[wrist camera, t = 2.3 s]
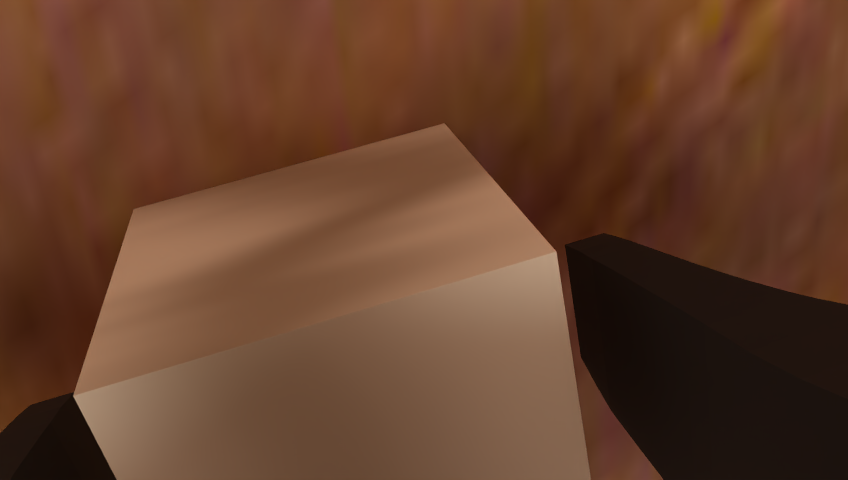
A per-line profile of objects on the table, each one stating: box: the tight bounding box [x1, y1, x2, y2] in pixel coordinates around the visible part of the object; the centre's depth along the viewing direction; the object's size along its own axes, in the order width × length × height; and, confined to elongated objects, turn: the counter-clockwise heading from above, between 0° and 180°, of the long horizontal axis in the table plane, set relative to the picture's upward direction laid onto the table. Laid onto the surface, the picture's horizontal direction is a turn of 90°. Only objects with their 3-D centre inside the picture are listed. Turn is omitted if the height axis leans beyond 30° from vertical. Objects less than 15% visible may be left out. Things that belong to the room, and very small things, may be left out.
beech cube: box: [73, 123, 591, 480], centre depth 11 cm, size 5×5×5 cm
